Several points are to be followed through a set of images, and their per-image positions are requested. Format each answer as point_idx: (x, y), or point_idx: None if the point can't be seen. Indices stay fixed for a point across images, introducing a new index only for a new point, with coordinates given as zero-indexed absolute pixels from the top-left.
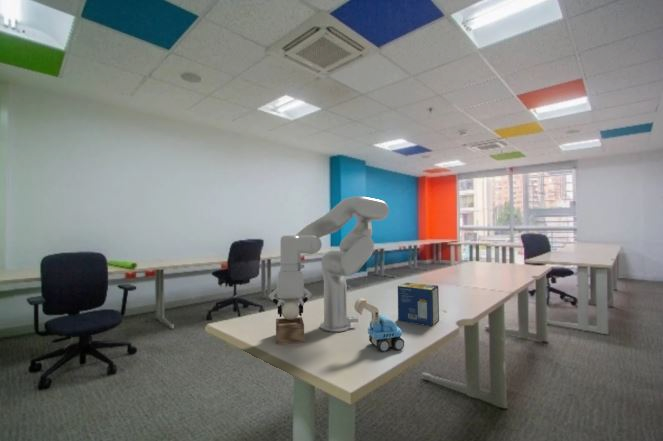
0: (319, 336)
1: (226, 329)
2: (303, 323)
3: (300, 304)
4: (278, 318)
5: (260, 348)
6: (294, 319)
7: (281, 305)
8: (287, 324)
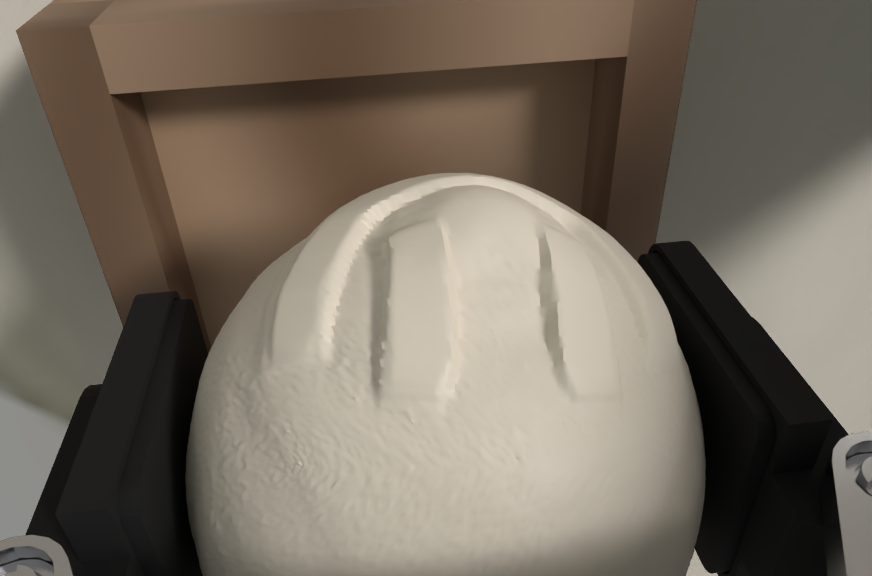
0: (790, 117)
1: None
2: None
3: (760, 572)
4: (86, 27)
5: (63, 410)
6: (502, 57)
7: (162, 567)
8: (344, 177)
